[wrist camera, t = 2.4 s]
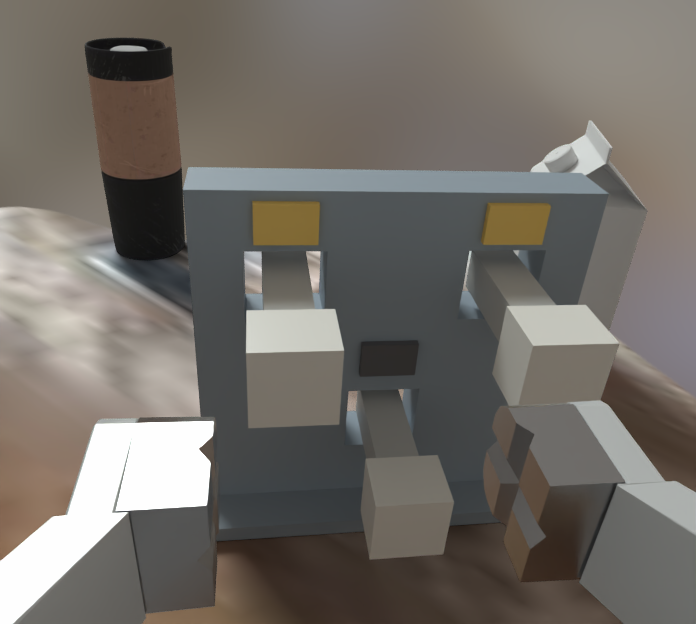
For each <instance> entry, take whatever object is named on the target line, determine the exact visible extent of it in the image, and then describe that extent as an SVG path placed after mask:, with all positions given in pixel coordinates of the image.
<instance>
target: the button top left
mask: <svg viewBox="0 0 696 624" xmlns="http://www.w3.org/2000/svg"><path fill="white" fill-rule="evenodd" d="M262 300H263V310H247V312H246V368H247V402H248V428H268V427H292V426H316V425H339V420H340V405H341V390H342V375H343V360H344V348H343V343H342V338H341V334H340V329H339V325H338V320H337V315H336V311H335V309H315V305H314V299H313V293H312V287H311V281H310V275H309V269H308V263H307V257H306V251H262Z"/></svg>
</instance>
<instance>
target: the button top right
mask: <svg viewBox="0 0 696 624" xmlns="http://www.w3.org/2000/svg"><path fill="white" fill-rule="evenodd" d="M466 287H467V289H468V291H469V292H470V294H471V296H472V298H473V299H474V301H475V303H476V304H477V306H478V308H479V309H480V311H481V313H482V315H483V316H484V318H485V320H486V321H487V323H488V325H489V326H490V328H491V330H492V332H493V333H494V335H495V337H496V338H497V340H498V342H499V345H498V349H497V354H496V358H495V363H494V368H493V372H492V374H493V376H494V378H495V380H496V382H497V384H498V386H499V388H500V390H501V391H502V393H503V395H504V397H505V399H506V401H507V403H508V405H509V406H512V405H534V404H557V403H565V404H566V403H567V402H581V401H598V400H601V397H602V394H603V391H604V388H605V385H606V382H607V379H608V376H609V373H610V370H611V367H612V364H613V361H614V358H615V355H616V352H617V349H618V346H619V342H618V341H617V340H616V339H615V338H614V337H613V335H612V334H611V333H610V332H609V331H608V330H607V329H606V327H605V326H604V325H603V324H602V323H601V322H600V321H599V319H598V318H597V317H596V316H595V315H594V314H593V312H592V311H591V310H590V309H589V308H588V307H587V306H586V305H556V304H555V303H554V302H553V301H552V299H551V298H550V297H549V295H548V294H547V293H546V292H545V290H544V289H543V288H542V287H541V285H540V284H539V283H538V282H537V280H536V279H535V278H534V277H533V275H532V274H531V273H530V271H529V270H528V269H527V268H526V266H525V265H524V264H523V263H522V261H521V260H520V259H519V258H518V256H517V255H516V254H515V253H514V251H513V250H495V251H472V253H471V258H470V264H469V270H468V275H467V281H466Z"/></svg>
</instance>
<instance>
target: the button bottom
mask: <svg viewBox="0 0 696 624" xmlns="http://www.w3.org/2000/svg"><path fill="white" fill-rule="evenodd" d="M356 414H357V418H358V423H359V428H360V432H361V437H362V442H363V446H364V451H365V456H366V460H365V470H364V480H363V490H362V500H361V516H362V521H363V526H364V532H365V537H366V543H367V548H368V553H369V559H370V560H372V559H386V558H399V557H413V556H427V555H441V554H443V553H444V549H445V544H446V539H447V534H448V529H449V524H450V519H451V515H452V510H453V505H454V500H453V497H452V495H451V492H450V489H449V486H448V483H447V480H446V477H445V474H444V472H443V469H442V466H441V463H440V460H439V457H438V455H427V456H419V454H418V451H417V448H416V445H415V442H414V438H413V435H412V432H411V429H410V426H409V423H408V419H407V416H406V413H405V410H404V407H403V403H402V400H401V397H400V394H399V391H398V389H392V390H363V391H357V403H356Z"/></svg>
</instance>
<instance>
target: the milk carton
mask: <svg viewBox="0 0 696 624" xmlns="http://www.w3.org/2000/svg"><path fill="white" fill-rule="evenodd" d="M611 151H612V146H611V145H610V144H609V143H608V141H607V140H606V139H605V137H604V136H603V135H602V133H601V132H600V131H599V130H598V128H597V127H596V126H595V124H594V123H593V122H592V121H589V122H588V126H587V131H586V134H585V135H584V136H582V137H581V138H579V139H577V140H576V141H574V142H573V143H571V144H566V145H563V146H560V147H558V148H556V149H554V150H553V151H551V152H550V153H549V154H548V155H547V156H546V157H545V158H544V160H543V161H542V162H540V163H539V164H537V165H536V166H534V167H533V168H532V169H531V172H553V173H582V174H584V175H585V176H586V177H588V178H589V179H590V180H592V181H593V182H594V183H596V184H597V185H598V186H599V187H601V188H602V189H603V190H605V191H606V192H607V193H609V196H608V199H607V203H606V206H605V210H604V213H603V217H602V220H601V224H600V227H599V231H598V234H597V238H596V241H595V245H594V248H593V252H592V255H591V259H590V262H589V266H588V269H587V273H586V276H585V280H584V284H583V287H582V291H581V294H580V298H579V301H578V305H586V306H587V307H588V308H589V309H590V310H591V311H592V312H593V314H594V315H595V316H596V317H597V318H598V319H599V321H600V322H601V323H602V324H603V325H604V326H605V327H606V329H607V330H608V331H609V330H610V327H611V323H612V320H613V317H614V314H615V311H616V308H617V305H618V302H619V298H620V295H621V292H622V289H623V286H624V283H625V280H626V277H627V273H628V270H629V267H630V264H631V261H632V258H633V255H634V252H635V249H636V245H637V242H638V239H639V236H640V233H641V230H642V227H643V224H644V221H645V218H646V214H647V209H646V208H645V206H644V205H643V204H642V202H641V201H640V200H639V198H638V197H637V195H636V194H635V193H634V191H633V190H632V188H631V187H630V186H629V184H628V183H627V182H626V180H625V179H624V178H623V176H622V175H621V174H620V173H619V171H618V170H617V169H616V168H615V167H614V166H613V164H612V163H611V162H610V161H609V158H610V155H611ZM514 253H515V254H516V255H517V256H518V254H519V250H514Z"/></svg>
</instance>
